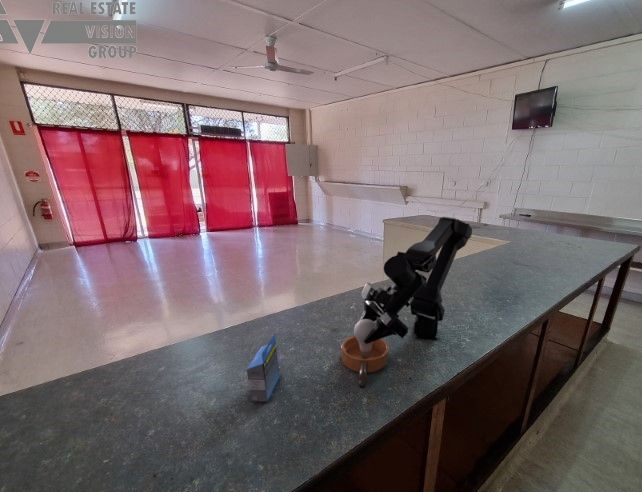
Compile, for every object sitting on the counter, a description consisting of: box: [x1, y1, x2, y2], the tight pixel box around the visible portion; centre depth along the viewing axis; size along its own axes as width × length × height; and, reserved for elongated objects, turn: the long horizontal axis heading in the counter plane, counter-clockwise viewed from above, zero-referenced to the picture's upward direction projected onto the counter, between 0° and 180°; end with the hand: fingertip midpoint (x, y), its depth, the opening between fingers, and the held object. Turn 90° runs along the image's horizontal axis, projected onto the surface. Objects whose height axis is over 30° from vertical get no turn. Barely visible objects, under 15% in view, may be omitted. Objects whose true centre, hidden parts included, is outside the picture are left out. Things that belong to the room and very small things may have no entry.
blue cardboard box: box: [246, 332, 280, 403], centre depth 70 cm, size 9×4×12 cm, turn 178°
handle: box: [357, 361, 368, 389], centre depth 73 cm, size 2×9×2 cm, turn 178°
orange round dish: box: [341, 335, 390, 374], centre depth 83 cm, size 12×12×4 cm
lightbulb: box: [353, 319, 376, 358], centre depth 81 cm, size 6×6×11 cm
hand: (360, 336), depth 81 cm, fingers closed on lightbulb, 6 cm apart
